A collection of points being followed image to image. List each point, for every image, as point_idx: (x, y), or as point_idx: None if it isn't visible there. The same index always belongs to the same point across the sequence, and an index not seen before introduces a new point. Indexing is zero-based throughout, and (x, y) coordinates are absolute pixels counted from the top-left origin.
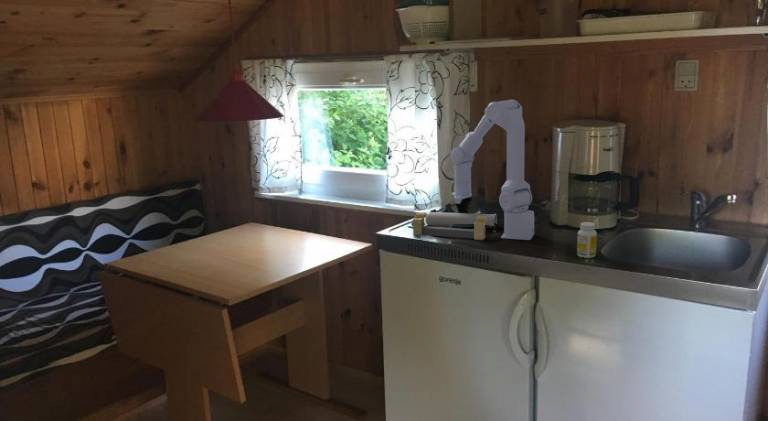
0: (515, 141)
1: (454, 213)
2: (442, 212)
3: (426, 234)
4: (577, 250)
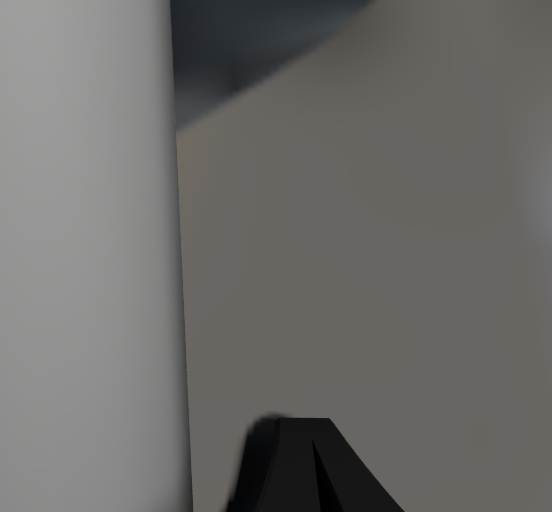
0: None
1: (10, 498)
2: (24, 181)
3: None
4: None
